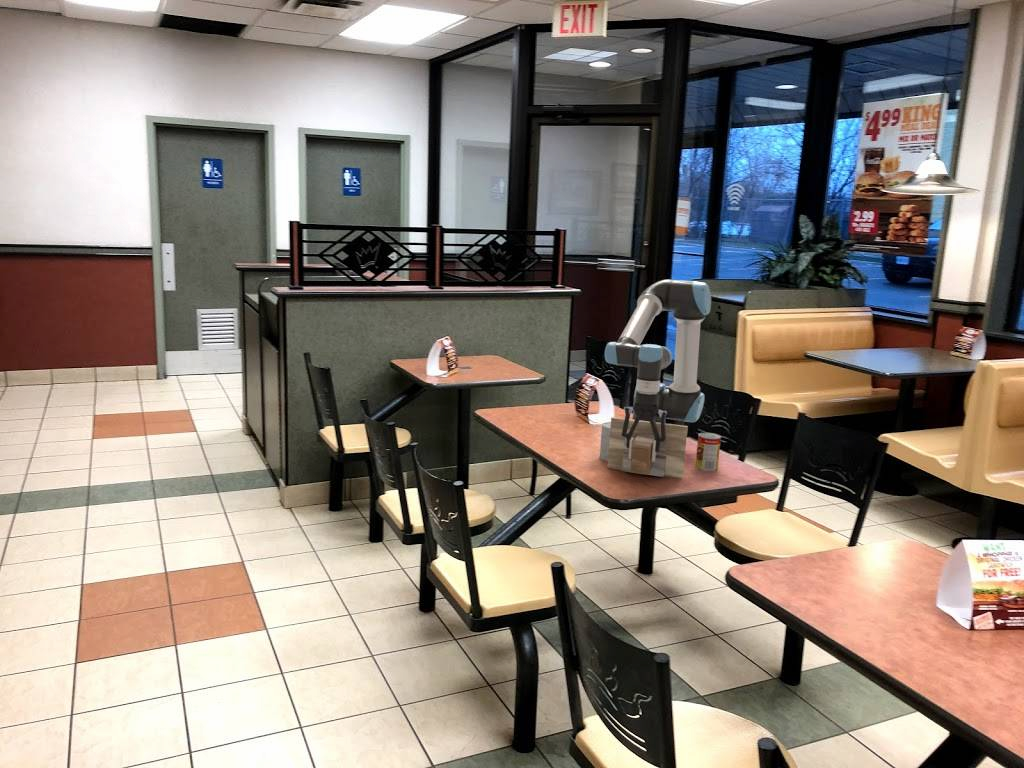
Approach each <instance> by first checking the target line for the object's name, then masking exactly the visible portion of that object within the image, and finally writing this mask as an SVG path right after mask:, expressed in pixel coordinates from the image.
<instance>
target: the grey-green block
mask: <svg viewBox="0 0 1024 768" xmlns="http://www.w3.org/2000/svg"><path fill="white" fill-rule="evenodd" d="M610 428H611V421H610V422H609V421H608V422H603V423H601V432H600V433H601V434H600V448H599V456H598V457H599V459H600V460H601V461H605V462H608V454H609V441H610Z"/></svg>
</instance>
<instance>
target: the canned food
mask: <svg viewBox="0 0 1024 768" xmlns="http://www.w3.org/2000/svg"><path fill="white" fill-rule="evenodd" d="M721 439H722V436H721V435H720V434H717V433H713V432H700V433H698V435H697V444H696V455H695V465H694V467H695V468H696V469H697V470H701V471H705V472H716V471H718V469H719V458H720V451H721V449H720V448H721Z"/></svg>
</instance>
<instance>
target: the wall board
mask: <svg viewBox="0 0 1024 768" xmlns="http://www.w3.org/2000/svg"><path fill="white" fill-rule="evenodd" d="M624 420H625V417H624V418H622V417H614V416H611V418H610V422H611V428H610V441H609V454H608V461H607V469H612V470H613V469H614V470H621V471H622V472H627V473H631V472H630V467H631V459H629V448H627V447H626V444H627V438H626V437H623V436H622V430H623V425H624ZM634 421H635V420H633V419H629V424H628V428H627V433H629V431H630V429H631V427H632V425H633V423H634ZM665 424H666V439H665V441H664V442H663V441H662V442H660V448H659V451H658V452H656V456H655V461H654V462H652V468H651V470H650V472H649V474H648V475H647V476H649V475H650V476H655V477H662V478H663V477H670V478H671V477H672V478H676V479H677V478H678V479H683V478H684V470H685V460H686V449H687V438H688V437H687V436H688V427H689V426H688V425H681V424H673V423H666V422H665ZM656 426H657V429H658V433H659V436H660V437H661V423H658V422H656ZM638 434H647V435H654V434H653V430H652V427H651V424H650V422H649V421H641V420H639V422H638V424H637V426H636V428H635V430H634V432H633V434H632V436H631V438H634V440H635V438H636V437H637V435H638ZM634 440H633V442H634Z"/></svg>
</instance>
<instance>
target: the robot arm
mask: <svg viewBox="0 0 1024 768" xmlns="http://www.w3.org/2000/svg"><path fill="white" fill-rule="evenodd" d="M710 289H711V288H710V286H709V285H708V284H707V283H706V282H702V281H696V280H679V279H670V278H668V279H667V278H666V279H662V280H658V281H657V282H654V283H653V284H651V285H650V286H648V287H647V288H645V290H643V292H641V294H640V295H639V297H638V299H637V300H636V308H635V309H634V311H633V313H632V315H631V317H630V319H629V320H628V322H627V324H626V326H625V327H624V329H623V331H622V333H621V335H620V336H619V338H618V340H617V341H610V342H607V344H606V346H605V349H604V359H605V362H606V363H608V364H611V365H616V366H624V367H634V368H637V374H636V386H635V390H634V395H633V406H626V407H625V408H624V412H625V417H624V418H625V420H624V425H623V430H622V436H623V437H626V438H627V444H626V447H627V448H629V459H631V453H632V443H633V440H634V438H631V436H632V434H633V432H634V430H635V428H636V426H637V424H638V422H639V420H641V421H649V422H650V424H651V427H652V430H653V434H654V437H655V440H656V441H654V442H653V452H652V462H654V461H655V456H656V452H658V451H659V448H660V442H662V441H663V442H664V441H665V439H666V424H667V423H666V419H667V420H672V421H679V422H684V423H685V422H687V423H695V422H697V421H698V420H699V419H700V416H701V415H702V411H703V408H704V404H705V394H704V393H703V392H701V386H700V385H699V384H698V383H697V381H698V380H697V379H698V368H699V367H698V365H699V350H700V349H699V348H700V338H701V323H702V322H703V321H704V320H705V318H706V316H707V315H709V314H710V312H711V307H712V295H711V290H710ZM664 311H667V312H673V319H674V320H675V321H676V331H675V333H676V337H675V350H674V351H675V353H674V354H675V355H674V368H673V369H674V370H673V382H671V384H669V386H668V387H669V388H666V387H667V386H666V384H665V383H662V382H661V372H662V370H664V369H666V368H668V367H669V366H670V365H671V364H672V361H673V353H672V352H671V350H670V349H669V348H668V347H666V346H661V345H658V344H651V343H649V344H648V343H646V344H645V343H644V344H641V343H642V342H643V340H644V338H645V336H646V334H647V332H648V331H649V329H650V327H651V325H652V323H653V321H654V319H655V317H656V316H658V315H660V314H661V312H664ZM631 414H632V419H633V420H635V421H634V423H633V425H632V427H631V429H630V431H629V433H627V428H628V424H629V419H630V418H631ZM656 422H658V423H661V437H660V436H659V433H658V429H657V426H656ZM665 423H666V424H665Z"/></svg>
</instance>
